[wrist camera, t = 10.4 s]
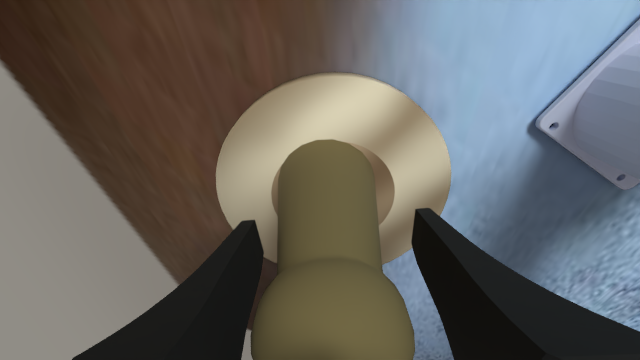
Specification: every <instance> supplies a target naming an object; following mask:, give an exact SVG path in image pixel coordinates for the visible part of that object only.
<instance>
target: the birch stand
mask: <svg viewBox="0 0 640 360" xmlns="http://www.w3.org/2000/svg"><path fill="white" fill-rule="evenodd" d="M328 139H334V140H338V141H341V142H345V143H349V144H350V145H352V146H354V147H355V148H357V149H358V150H360V151H361V152H362V153H363V154H364V155H365V157H366V158H367V159H368V160H369V162H370V163H371V166H372V169H373V173H374V177H375V188H376V200H377V212H378V223H379V235H380V247H381V258H382V265H383V264H385V263H388V262H390V261H392V260H394V259H395V258H397V257H399V256H401V255H402V254H404V253H405V252H407V251H408V250H410V249H411V248H412V244H411V240H412V232H413V224H414V216H415V209H419V208H430V209H432V210H433V211H434V212H435V213H436V214H437V215H439V216H440V214H441V213H442V211H443V208H444V206H445V203H446V201H447V198H448V194H449V189H450V183H451V165H450V157H449V153H448V150H447V146H446V143H445V141H444V139H443V137H442V135H441V132H440V131H439V129H438V128H437V126H436V125H435V123H434V122H433V120H432V119H431V118H430V117H429V116H428V115H427V114H426V113H425V112H424V111H423V109H422V108H421V107H419V106H418V105H417V104H416V103H415V102H414V101H413V100H411V99H410V98H409V97H408V96H406V95H405V94H404V93H402V92H401V91H400V90H398V89H396V88H394V87H392V86H391V85H389V84H387V83H385V82H382V81H380V80H377V79H374V78H372V77H368V76H364V75H359V74H355V73H344V72H326V73H316V74H311V75H306V76H301V77H298V78H295V79H293V80H290V81H287V82H284V83H283V84H281V85H279V86H277V87H275V88H273V89H271V90H269V91H268V92H267V93H265V94H264V95H263V96H261V97H260V98H258V99H257V100H256V101H255V102H254V103H253V104H252V105H251V106H250V107H249V108H248V109H247V110H246V111H245V112H244V113H243V115H242V116H241V117H240V118H239V120H238V121H237V122H236V124H235V125H234V126H233V128H232V129H231V130H230V132H229V134H228V136H227V138H226V139H225V141H224V143H223V146H222V149H221V152H220V155H219V158H218V163H217V169H216V187H217V194H218V199H219V202H220V205H221V208H222V211H223V213H224V215H225V217H226V219H227V221H228V222H229V224H230V225H231V227H232V228H233V230H234V229H235V228H236V227H237V226H238V224H239V223H240V222H241V221H244V220H255V222H256V225H257V229H258V232H259V236H260V240H261V243H262V247H263V250H264V255H263V257H265V258H267V259H268V260H270V261H272V262H274V263H277V236H278V178H279V174H280V169H281V166H282V164H283V163H284V161H285V160H286V158H287V157H288V155H289V154H290V153H292V152H293V151H294V150H296V149H297V148H298V147H300V146H301V145H303V144H306V143H309V142H312V141H315V140H328Z"/></svg>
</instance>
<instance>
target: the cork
mask: <svg viewBox="0 0 640 360" xmlns="http://www.w3.org/2000/svg"><path fill="white" fill-rule="evenodd" d="M414 353H415V341H414V330H413V327H412V324H411V320H410V317H409V314H408V311H407V308H406V305H405V302H404V299H403V298H402V296H401V294H400V293H399V291H398V289H397V288H396V286H395V285H394V284H393V283H392V282H391V281H390V280H389V279H388V278H387V277H386V276H385V275H384V274H383V270H382V258H381V247H380V235H379V223H378V212H377V200H376V188H375V177H374V173H373V169H372V166H371V163H370V162H369V160H368V159H367V158H366V157H365V155H364V154H363V153H362V152H361V151H360V150H358V149H357V148H355V147H354V146H352V145H350V144H349V143H345V142H341V141H338V140H334V139H328V140H315V141H312V142H309V143H306V144H303V145H301V146H300V147H298V148H297V149H296V150H294V151H293V152H292V153H290V154H289V155H288V157H287V158H286V160H285V161H284V163H283V164H282V166H281V169H280V174H279V178H278V236H277V276H276V277H275V279H274V280H273V281H272V282H271V283H270V284H269V286H268V287H267V288H266V290H265V292H264V294H263V295H262V297H261V299H260V301H259V303H258V307H257V311H256V315H255V319H254V323H253V328H252V332H251V355H252V358H253V360H413V356H414Z"/></svg>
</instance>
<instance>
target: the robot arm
mask: <svg viewBox="0 0 640 360" xmlns="http://www.w3.org/2000/svg"><path fill="white" fill-rule="evenodd" d="M535 123H536V127H537V128H539V129H540V130H541V131H543V132H544V133H545V134H547V135H548V136H549V137H551V138H552V139H553V140H555V141H556V142H558V143H559V144H560V145H562V146H563V147H564V148H566V149H567V150H568V151H570V152H571V153H572V154H574V155H575V156H576V157H578V158H579V159H581V160H582V161H583V162H585V163H586V164H587V165H589V166H590V167H591V168H593V169H594V170H595V171H597V172H598V173H599V174H601V175H602V176H604V177H605V178H606V179H608V180H609V181H610V182H612V183H613V184H614V185H616V186H617V187H619V188H621V189H623V190H627V189H631V188H632V187H634V186H635V185H637V184H638V183H640V19H639V20H638V21H637V22H636V23H635V24H634V25H633V26H632V27H631V28H630V29H629V30H628V31H627V32H626V33H625V34H623V35H622V36H621V37H620V38H619V39H618V40H617V41H616V42H615V43H614V44H613V45H612V46H611V47H610V48H609V49H608V50H607V51H606V52H605V53H604V54H603V55H602V56H601V57H600V58H599V59H598V60H597V61H596V62H595V63H594V64H593V65H592V66H590V67H589V68H588V69H587V70H586V71H585V72H584V73H583V74H582V75H581V76H580V77H579V78H578V79H577V80H576V81H575V82H574V83H573V84H572V85H571V86H570V87H569V88H568V89H567V90H566V91H565V92H564V93H563V94H562V95H561V96H560V97H558V98H557V99H556V100H555V101H554V102H553V103H552V104H551V105H550V106H549V107H548V108H547V109H546V110H545V111H544V112H543V113H542V114H541V115H540V116H539V117H538V118H537V120H536V122H535ZM552 123H554V124H553V126H552V127H550V125H551V124H552ZM549 127H550V128H549ZM411 244H412V247H413V251H414V254H415V258H416V261H417V264H418V266H419V269H420V271H421V273H422V276H423V278H424V280H425V283H426V285H427V287H428V289H429V292H430V294H431V296H432V299H433V301H434V303H435V305H436V308H437V310H438V312H439V315H440V318H441V320H442V323H443V326H444V329H445V332H446V335H447V338H448V341H449V344H450V347H451V350H452V354H453V357H454V360H640V332H639V331H637V330H635V329H632V328H630V327H627V326H625V325H623V324H620V323H618V322H616V321H613V320H611V319H608V318H606V317H604V316H601V315H599V314H597V313H594V312H592V311H590V310H588V309H586V308H583V307H581V306H579V305H577V304H575V303H573V302H571V301H569V300H566V299H564V298H562V297H560V296H558V295H556V294H554V293H553V292H551V291H549V290H547V289H545V288H543V287H541V286H539V285H538V284H536V283H534V282H532V281H530V280H528V279H527V278H525V277H523V276H521V275H520V274H518V273H516V272H515V271H513V270H511V269H510V268H508V267H507V266H505V265H503V264H502V263H500V262H499V261H497V260H496V259H494V258H493V257H491V256H490V255H488V254H487V253H486V252H484V251H483V250H481V249H480V248H479V247H477V246H476V245H474V244H473V243H472V242H470V241H469V240H468V239H467V238H465V237H464V236H463V235H462V234H460V233H459V232H458V231H457V230H455V229H454V228H453V227H452V226H450V225H449V224H448V223H447V222H446V221H445V220H443V219H442V218H441V217H440V216H439V215H437V214H436V213H435V212H434V211H433V210H432V209H430V208H419V209H415V216H414V224H413V232H412V240H411ZM263 255H264V250H263V247H262V243H261V240H260V236H259V232H258V229H257V225H256V222H255V220H244V221H241V222H240V223H239V224H238V226H237V227H236V228H235V229H234V230H233V231H232V232H231V233H230V235H229V236H228V237H227V238H226V239H225V240H224V241H223V243H222V244H221V245H220V246H219V247H218V248H217V249H216V250H215V251H214V252H213V254H212V255H211V256H210V257H209V258H208V259H207V260H206V261H205V262H204V263H203V264H202V265H201V266H200V267H199V268H198V269H197V270H196V271H195V272H194V273H193V274H192V275H191V276H189V277H188V278H187V279H186V280H185V281H184V282H183V283H182V284H180V285H179V286H178V287H177V288H176V289H175V290H173V291H172V292H171V293H170V294H168V295H167V296H166V297H165V298H163V299H162V300H161V301H159V302H158V303H157V304H155V305H154V306H153V307H152V308H150V309H149V310H148V311H146V312H145V313H144V314H142V315H141V316H139V317H138V318H137V319H135V320H133V321H132V322H131V323H129V324H128V325H126V326H125V327H123V328H122V329H120V330H119V331H117V332H115V333H114V334H112V335H111V336H109V337H107V338H106V339H104V340H102V341H101V342H99V343H98V344H96V345H94V346H93V347H91V348H89V349H88V350H86V351H84V352H83V353H81V354H79V355H77V356H76V357H74V358H73V359H72V360H241V357H242V351H243V345H244V339H245V333H246V328H247V324H248V320H249V316H250V312H251V309H252V305H253V301H254V298H255V294H256V290H257V287H258V283H259V279H260V275H261V270H262V263H263Z"/></svg>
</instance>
